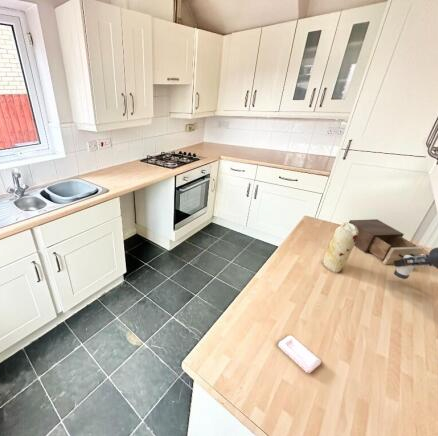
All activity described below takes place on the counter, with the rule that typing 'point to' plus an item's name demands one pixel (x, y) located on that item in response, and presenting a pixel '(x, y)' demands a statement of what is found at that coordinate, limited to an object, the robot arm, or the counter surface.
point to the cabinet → (371, 232)
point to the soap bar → (299, 354)
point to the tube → (404, 270)
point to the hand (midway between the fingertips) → (400, 263)
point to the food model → (340, 246)
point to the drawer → (392, 248)
